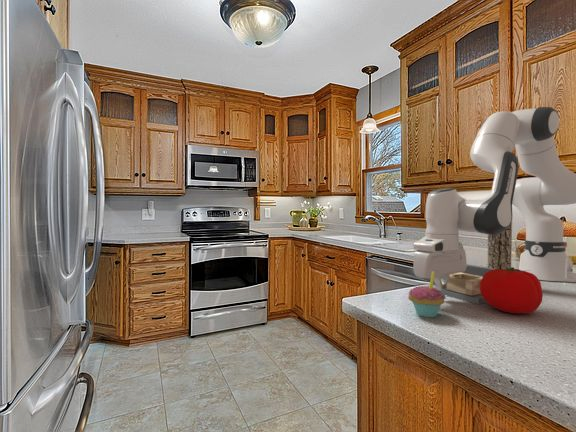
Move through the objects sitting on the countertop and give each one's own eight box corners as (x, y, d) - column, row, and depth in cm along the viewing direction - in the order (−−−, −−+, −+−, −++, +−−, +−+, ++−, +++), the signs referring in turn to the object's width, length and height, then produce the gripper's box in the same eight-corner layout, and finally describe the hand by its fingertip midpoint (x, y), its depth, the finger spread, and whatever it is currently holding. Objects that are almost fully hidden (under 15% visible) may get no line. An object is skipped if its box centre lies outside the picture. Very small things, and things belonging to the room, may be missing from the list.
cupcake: (449, 314, 79) (449, 267, 79) (437, 323, 73) (437, 272, 73) (416, 306, 85) (416, 263, 85) (402, 314, 79) (402, 267, 79)
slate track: (466, 285, 108) (466, 264, 108) (511, 294, 96) (511, 271, 96) (433, 292, 99) (433, 269, 99) (478, 304, 87) (478, 277, 87)
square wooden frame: (459, 284, 103) (459, 272, 102) (491, 291, 94) (491, 278, 94) (440, 288, 98) (440, 275, 98) (472, 295, 89) (472, 282, 89)
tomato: (547, 323, 72) (548, 274, 72) (481, 314, 79) (481, 269, 79) (536, 308, 83) (537, 265, 83) (478, 301, 90) (478, 261, 89)
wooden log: (515, 288, 103) (515, 214, 103) (492, 287, 105) (493, 214, 104) (505, 283, 110) (505, 213, 109) (484, 283, 111) (484, 213, 111)
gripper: (452, 240, 99) (452, 283, 99) (409, 244, 89) (409, 291, 89) (472, 242, 93) (472, 287, 94) (428, 246, 83) (428, 297, 84)
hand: (441, 289), depth 91 cm, fingers closed
